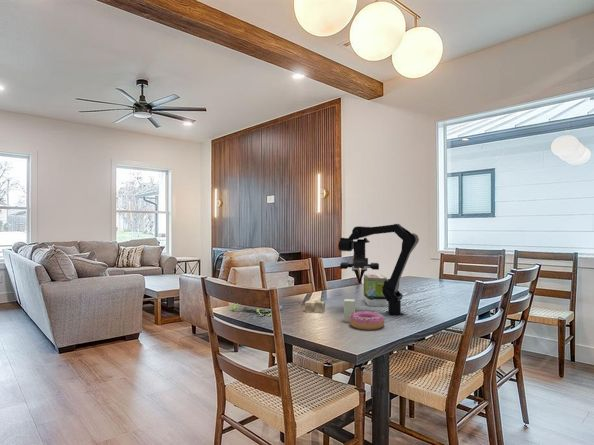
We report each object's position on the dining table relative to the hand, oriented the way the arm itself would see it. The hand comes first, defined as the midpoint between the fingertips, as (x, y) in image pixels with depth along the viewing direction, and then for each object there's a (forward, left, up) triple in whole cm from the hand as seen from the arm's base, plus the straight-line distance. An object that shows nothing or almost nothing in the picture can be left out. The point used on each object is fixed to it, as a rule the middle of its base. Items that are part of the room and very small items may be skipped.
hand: (359, 283), depth 186 cm
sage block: (-20, +10, -13) cm, 26 cm away
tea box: (+14, -12, -13) cm, 23 cm away
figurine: (+5, +50, -14) cm, 52 cm away
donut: (-29, +5, -13) cm, 32 cm away
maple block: (-2, +18, -11) cm, 21 cm away
